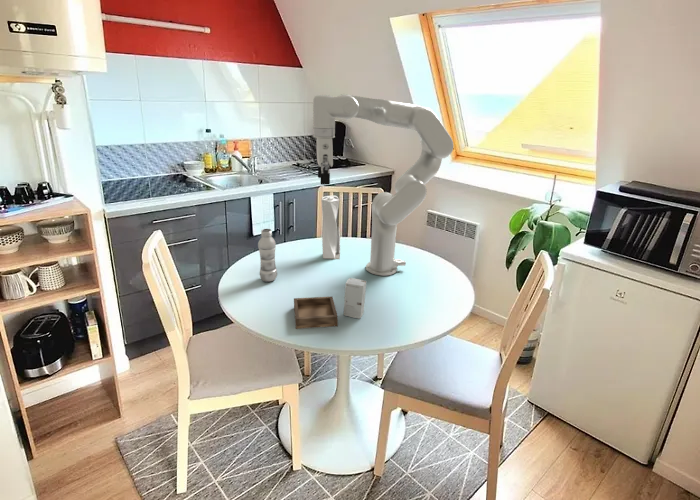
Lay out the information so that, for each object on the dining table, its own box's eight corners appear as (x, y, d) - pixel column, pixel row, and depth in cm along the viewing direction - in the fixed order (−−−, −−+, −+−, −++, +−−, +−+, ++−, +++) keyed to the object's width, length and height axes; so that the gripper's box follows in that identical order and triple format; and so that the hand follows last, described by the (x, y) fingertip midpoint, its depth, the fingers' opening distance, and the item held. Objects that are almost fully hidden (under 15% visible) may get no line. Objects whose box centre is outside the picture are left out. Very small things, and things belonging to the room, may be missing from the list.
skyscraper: (339, 261, 185) (341, 196, 174) (320, 260, 185) (320, 196, 174) (340, 253, 192) (341, 191, 182) (321, 252, 192) (322, 190, 182)
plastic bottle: (280, 277, 168) (278, 228, 160) (271, 285, 162) (269, 234, 154) (265, 274, 170) (263, 226, 162) (256, 282, 164) (253, 232, 156)
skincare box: (343, 315, 144) (344, 283, 139) (347, 309, 148) (348, 277, 143) (361, 319, 142) (362, 286, 138) (364, 312, 146) (366, 280, 142)
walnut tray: (332, 305, 150) (332, 296, 149) (337, 326, 138) (337, 316, 137) (294, 307, 148) (293, 298, 147) (296, 328, 136) (295, 319, 135)
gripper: (338, 136, 146) (337, 186, 153) (331, 129, 162) (330, 175, 168) (315, 136, 145) (315, 187, 151) (311, 129, 160) (311, 175, 167)
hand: (323, 180), depth 160 cm, fingers open, 9 cm apart
